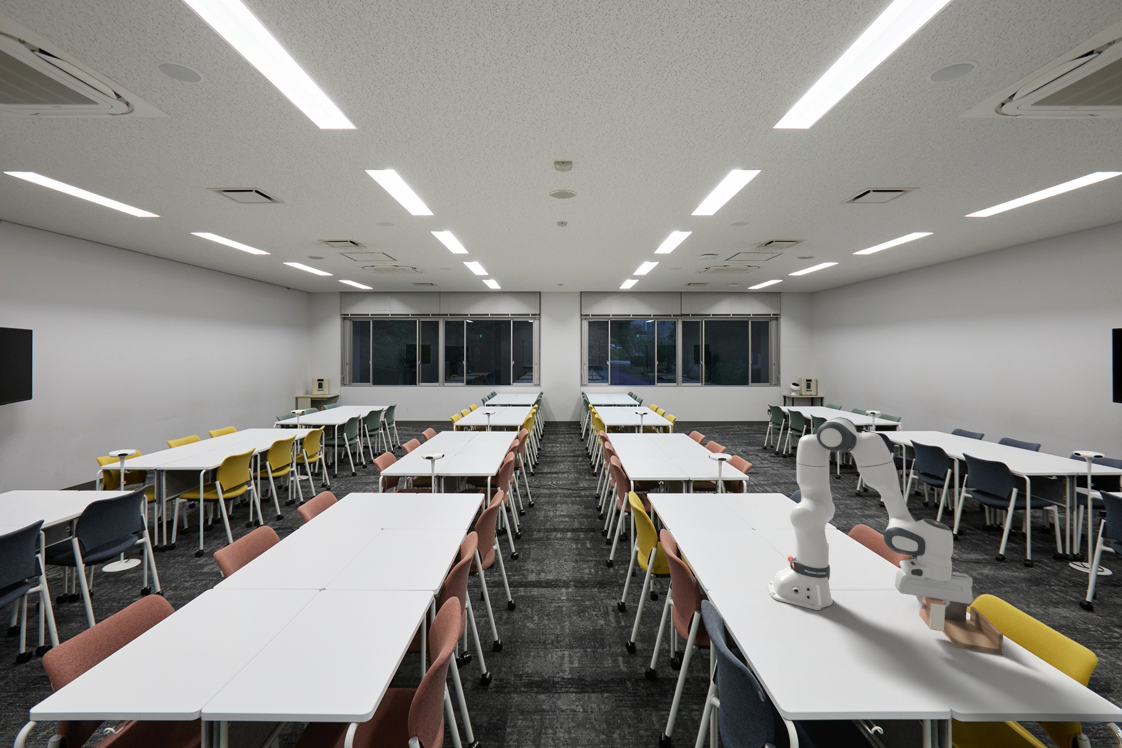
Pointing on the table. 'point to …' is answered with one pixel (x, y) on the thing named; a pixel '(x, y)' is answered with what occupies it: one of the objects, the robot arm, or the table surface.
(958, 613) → the grey flat square slab
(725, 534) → the table surface
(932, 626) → the rectangular block
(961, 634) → the shelf
